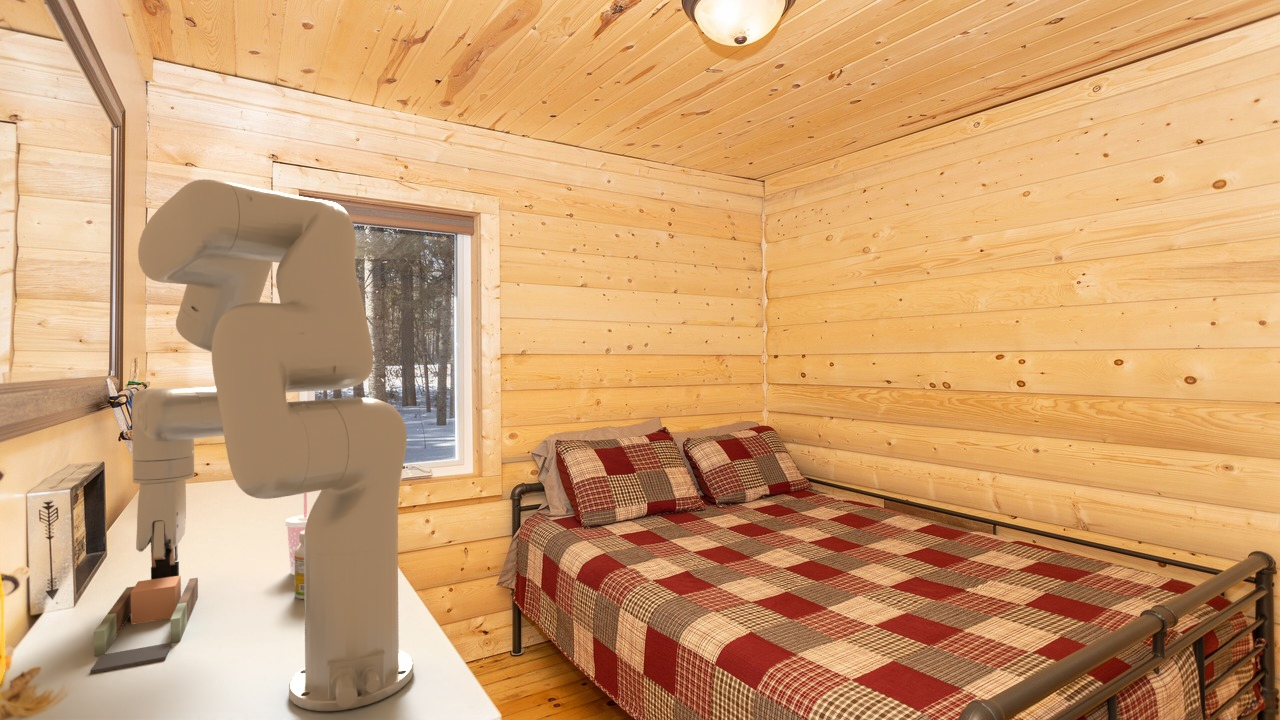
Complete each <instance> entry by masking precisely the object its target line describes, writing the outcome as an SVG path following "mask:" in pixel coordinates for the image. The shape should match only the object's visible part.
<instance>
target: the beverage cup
mask: <svg viewBox="0 0 1280 720" xmlns="http://www.w3.org/2000/svg"><path fill="white" fill-rule="evenodd" d="M307 495H308V493H303V514H300V515H299V514H298V515H294V516H291V517H288V518H286V519H285V520H284V523H285V526H286V530H287V532H286V533H287V542H288V553H289V555H288V556H289V566H290V568H289V569H290V573H291V575H294V576H295V549H296V548H297V547H298V546H299V545H301V542H300V540H299V536H300V532H301V531H303V530H305V526H306V522H307V519H308V516H309V514H310V513H308V496H307Z"/></svg>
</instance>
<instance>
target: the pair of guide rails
mask: <svg viewBox="0 0 1280 720" xmlns="http://www.w3.org/2000/svg"><path fill="white" fill-rule="evenodd" d="M198 579H199V578H198V577H193V578H189V580H188V581H187V584H186V586H185V588H184V590H183V591H182V593H181V598H180V600H179V602H178V605H177V607H176V609H175V611H174V613H173V615H172V617H171V618H169V620H170V623H169V624H170V643H171V644H172V643H178V642H181V640H182V638H183V636H184V632H185V630H186V628H187V625H188V623H189V620H190V618H191V615H192V613H193V610H194V609H195V605H196V603H197V600H198V597H199V584H198V582H199V581H198ZM134 587H135V585H134V586H127V587H126V588H125V589H124V590H123V592H122V594H120V596H119V597H118V599H117V600H116V601H115V602H114V604H113V605H112V606H111V608H110V609H109V611H108V612H107V614H106V615H105V616H104V618H103V619H102V621H101V622H100V623H99V625H98V626H97V627H96V629H95V630H94V632H93V641H94V642H93V644H94V645H93V646H94V648H93V649H94V652H93V653H94V655H93V656H94V657H100V655H102V654H107V652H108V650H109V649H110V647H111V646H112V644H113V642H114V641H115V639H116V638H117V637H118V635H119V633H120V632H121V630H122V628H123V627H124V625H125V623H126V622H127V621H128V619H129V617H131V591H132V590H133V588H134Z"/></svg>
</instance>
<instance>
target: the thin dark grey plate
mask: <svg viewBox="0 0 1280 720" xmlns="http://www.w3.org/2000/svg"><path fill="white" fill-rule="evenodd" d="M171 648H172V643H171V642H167V643H161V644H156V645H155V644H154V645H149V646H144V647H139V648H132V649H127V650H121V651H120V650H119V651H114V652H108V653H105V654H102V655H99V656H98V658H97V660H96V661H95V663H94V665H93V666H92V667H91V668H90V670H89V671H90V673H89V674H90V675H91V674H97V673H102V672H109V671H114V670H119V669H123V668H124V669H125V668H130V667H135V666H140V665H141V666H142V665H147V664H152V663H156V662H162V661H165V660H166V659H167V657H168V654H169V652H170V649H171Z"/></svg>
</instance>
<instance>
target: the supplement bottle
mask: <svg viewBox="0 0 1280 720" xmlns="http://www.w3.org/2000/svg"><path fill="white" fill-rule="evenodd" d="M304 534H305V530H303V531H301V532H300V536H299V540H300V542H301V545H299V546H298V547H297V548H296V549H295V575H294V595H295V598H297V599H300V600H305V593H304Z"/></svg>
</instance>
